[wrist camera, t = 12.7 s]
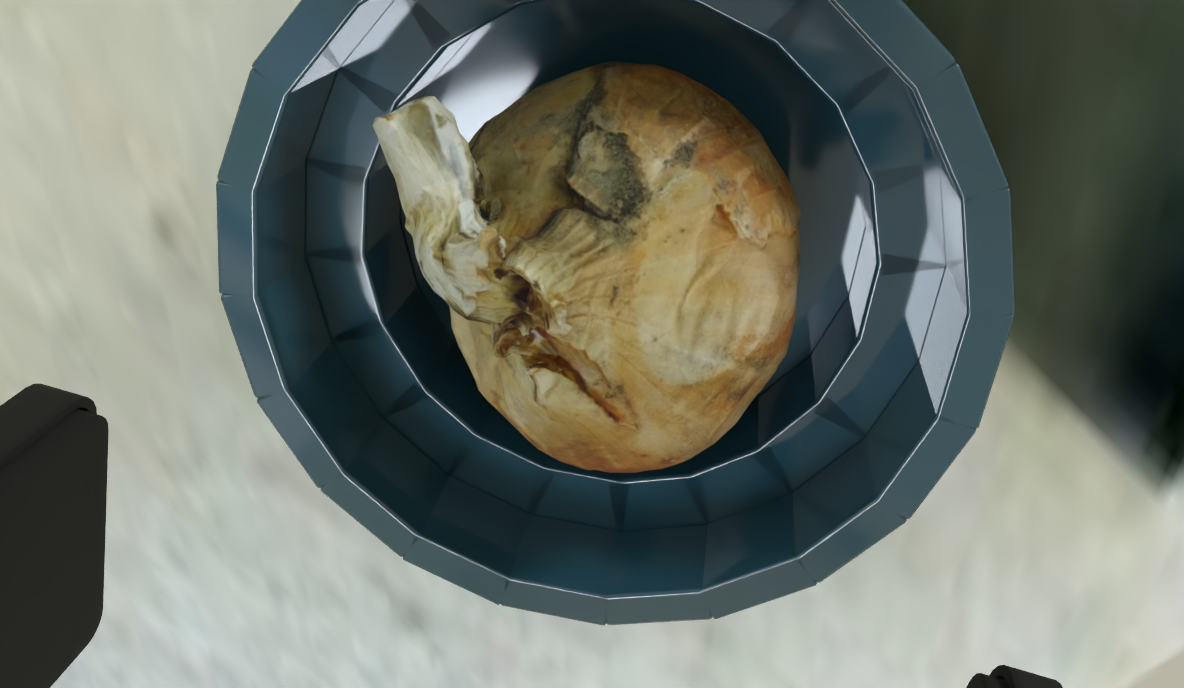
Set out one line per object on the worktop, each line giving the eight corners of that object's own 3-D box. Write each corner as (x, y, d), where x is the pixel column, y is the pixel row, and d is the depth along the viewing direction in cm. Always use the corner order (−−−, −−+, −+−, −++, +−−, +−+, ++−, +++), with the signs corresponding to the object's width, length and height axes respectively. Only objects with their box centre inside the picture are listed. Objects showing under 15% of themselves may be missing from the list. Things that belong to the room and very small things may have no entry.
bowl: (1103, 220, 23) (1196, 320, 18) (635, 582, 29) (609, 732, 24) (619, -307, 20) (573, -359, 15) (208, 208, 26) (78, 291, 21)
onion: (449, 350, 26) (330, 539, 19) (471, 12, 23) (337, 86, 15) (758, 403, 26) (757, 620, 18) (830, 65, 22) (862, 167, 15)
